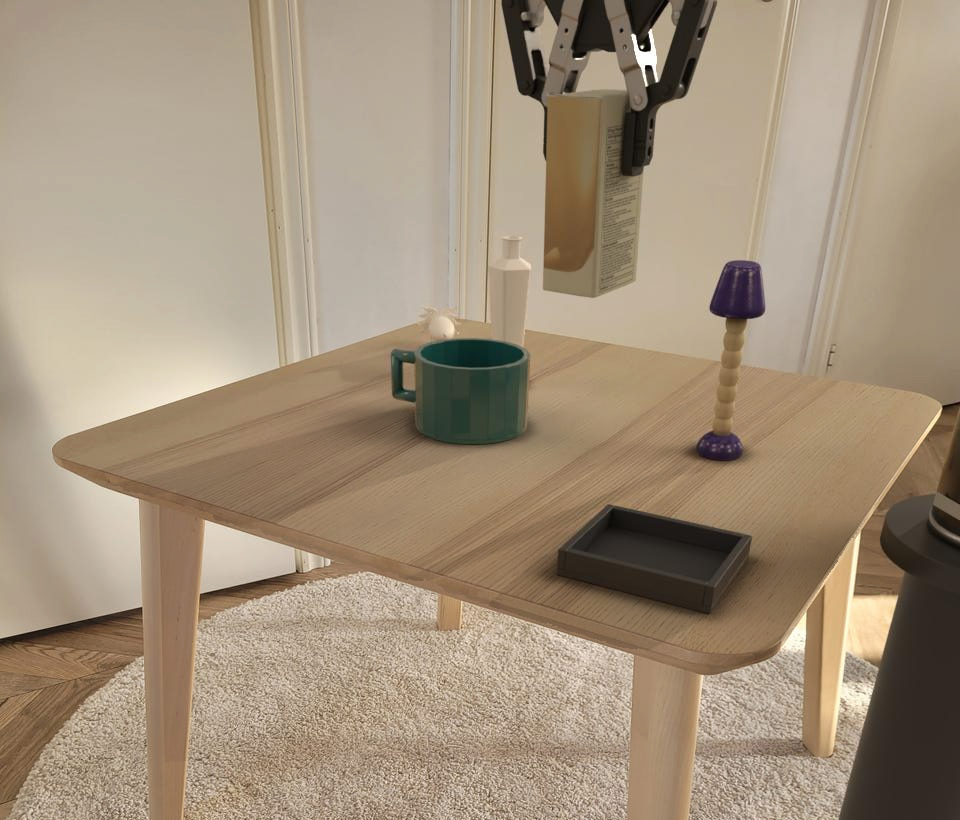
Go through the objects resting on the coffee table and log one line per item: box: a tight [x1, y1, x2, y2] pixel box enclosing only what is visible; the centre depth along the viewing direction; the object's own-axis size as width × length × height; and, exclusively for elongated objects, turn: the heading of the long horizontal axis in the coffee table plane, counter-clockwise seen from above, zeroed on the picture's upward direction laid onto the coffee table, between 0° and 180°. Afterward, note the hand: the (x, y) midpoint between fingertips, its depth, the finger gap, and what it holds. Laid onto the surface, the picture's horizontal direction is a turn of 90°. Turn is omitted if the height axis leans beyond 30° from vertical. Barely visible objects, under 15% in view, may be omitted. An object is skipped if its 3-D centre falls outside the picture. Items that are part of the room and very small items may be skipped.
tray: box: [556, 503, 753, 614], centre depth 71 cm, size 11×9×2 cm
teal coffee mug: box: [390, 337, 531, 445], centre depth 96 cm, size 14×11×7 cm
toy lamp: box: [695, 259, 766, 461], centre depth 88 cm, size 5×5×17 cm
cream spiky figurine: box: [416, 304, 462, 343], centre depth 117 cm, size 12×5×5 cm, turn 6°
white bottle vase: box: [487, 235, 532, 348], centre depth 105 cm, size 5×4×15 cm
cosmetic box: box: [542, 88, 645, 299], centre depth 67 cm, size 6×4×12 cm
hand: (596, 171), depth 67 cm, fingers closed on cosmetic box, 4 cm apart
